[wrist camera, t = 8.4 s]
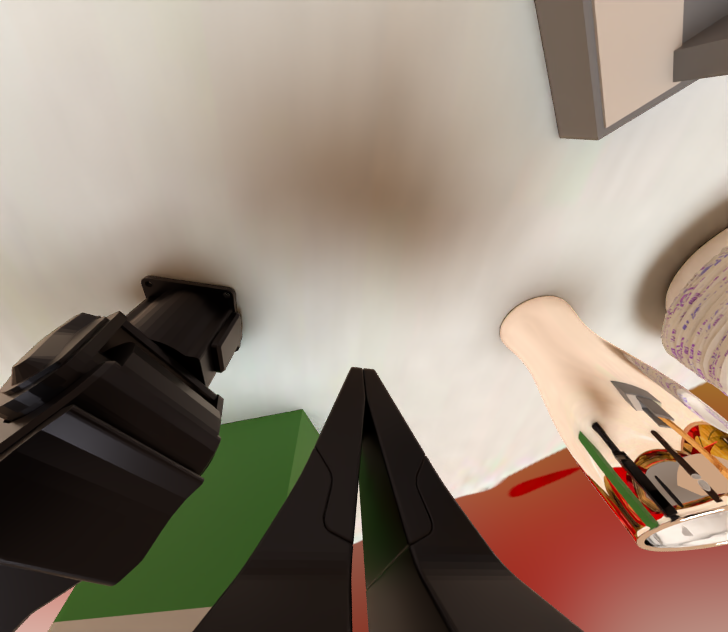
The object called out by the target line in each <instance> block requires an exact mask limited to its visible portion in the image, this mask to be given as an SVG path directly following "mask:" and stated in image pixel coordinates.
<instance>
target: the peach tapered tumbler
mask: <svg viewBox="0 0 728 632" xmlns="http://www.w3.org/2000/svg"><path fill="white" fill-rule="evenodd" d="M500 337H501V340H502V342H503V343H504V344H505V346H506V347H507V348H509V349H510V350H511V351H512V352H513V353H514V354H515V355H516V356H517V357H518V358H519V359H520V360H521V361H522V362H523V364H524V365H525V366H526V367H527V369H528V370H529V372H530V374H531V375H532V377H533V380H534V382H535V384H536V386H537V388H538V390H539V393H540V395H541V397H542V399H543V402H544V404H545V406H546V408H547V410H548V412H549V415H550V417H551V419H552V421H553V423H554V425H555V427H556V429H557V431H558V433H559V434H560V436H561V438H562V440H563V442H564V443H565V445H566V446H567V448H568V450H569V451H570V453H571V454H572V456H573V457H574V459H575V461H576V462H577V464H578V465H579V466H580V468H581V469H582V471H583V472H584V474H585V475H586V476H587V478H588V479H589V480H590V482H591V483H592V485H593V486H594V487H595V489H596V490H597V491H598V493H599V494H600V495H601V497H602V498H603V499H604V501H605V502H606V503H607V504H608V506H609V507H610V509H611V510H612V511H613V512H614V514H615V515H616V516H617V517H618V519H619V520H620V521H621V523H622V524H623V525H624V527H625V528H626V529H627V531H628V532H629V533H630V535H631V536H632V537H633V539H634V540H635V542H636V544H637V545H638V546H639V547H640V548H642V549H645V550H650V551H684V550H693V549H702V548H708V547H715V546H721V545H726V544H728V421H727V420H725V419H724V418H723V417H722V416H721V415H719V414H718V413H717V412H716V411H715V410H713V409H712V408H711V407H709V406H708V405H707V404H706V403H704V402H703V401H701V400H700V399H699V398H697V397H696V396H695V395H694V394H692V393H691V392H689V391H688V390H687V389H685V388H684V387H683V386H681V385H680V384H678V383H676V382H675V381H673V380H672V379H670V378H669V377H667V376H666V375H664V374H662V373H661V372H659V371H658V370H656V369H655V368H653V367H651V366H649V365H648V364H646V363H644V362H643V361H641V360H639V359H637V358H636V357H634V356H632V355H631V354H629V353H627V352H625V351H624V350H622V349H620V348H618V347H616V346H615V345H613V344H611V343H610V342H608V341H606V340H605V339H603V338H601V337H600V336H598V335H597V334H596V333H594V332H593V331H592V330H590V329H589V328H588V327H587V326H586V325H585V324H584V323H583V322H582V321H581V319H580V318H579V317H578V315H577V314H576V312H575V311H574V310H573V308H572V307H571V306H570V305H569V304H568V303H567V302H566V301H565V300H563V299H561V298H559V297H555V296H542V297H537V298H533V299H531V300H528V301H526V302H524V303H522V304H520V305H519V306H517V307H516V308H515V309H513V310H512V311H511V312H510V313H509V314H508V315H507V317H506V318H505V319H504V321H503V323H502V325H501V328H500Z"/></svg>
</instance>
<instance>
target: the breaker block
mask: <svg viewBox="0 0 728 632" xmlns="http://www.w3.org/2000/svg"><path fill="white" fill-rule="evenodd" d="M535 5H536V11H537V16H538V21H539V27H540V32H541V38H542V43H543V49H544V54H545V60H546V65H547V70H548V76H549V81H550V87H551V92H552V98H553V103H554V109H555V114H556V120H557V125H558V130H559V136H560V138H566V139H584V140H600V139H601V138H603V137H604V136H606V135H608V134H609V133H611V132H613V131H614V130H616V129H618V128H619V127H621V126H623V125H624V124H626V123H627V122H629V121H631V120H632V119H634V118H636V117H637V116H639V115H641V114H642V113H644V112H646V111H647V110H649V109H650V108H652V107H654V106H655V105H657V104H659V103H660V102H662V101H664V100H665V99H667V98H669V97H670V96H672V95H674V94H675V93H677V92H678V91H680V90H682V89H683V88H685V87H687V86H688V85H690V84H692V83H693V82H695V81H697V80H698V79H701V78H708V77H715V76H722V75H728V0H535Z"/></svg>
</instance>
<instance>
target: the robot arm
mask: <svg viewBox="0 0 728 632" xmlns="http://www.w3.org/2000/svg"><path fill="white" fill-rule="evenodd" d="M149 282H151V283H152V284H150V283H149ZM141 284H142V287H143V290H144V293H145V296H146V299H145V300H144V301H143V302H142V303H141V304H139V305H138V306H137V307H136V308H135V309H133V310H132V311H131V312H130V313H129V314H127V315H126V316H125V315H124V314H122V313H121V312H120V311H118V312H116V313H114V314H112V315H109V316H107V317H106V316H105V317H100V316H94V315H90V314H86V313H81V314H79V315H76V316H74V317H73V318H71V319H70V320H68V321H67V322H66V323H64V324H63V325H61V326H60V327H58V328H57V329H55V330H54V331H52V332H51V333H50V334H48V335H47V336H46V337H44V338H43V339H42V340H41V341H39V342H38V343H37V344H36V345H35V346H34V347H33V348H32V349H31V350H30V351H29V352H28V353H27V354H25V355H24V356H23V357H22V358H21V359H20V360H19V361H18V362H17V363H16V364H15V365H14V366H13V367H12V375H11V377H10V378H9V379H8V380H7V382H6V383H5V384H4V385H3V387H2V388H1V389H0V632H15V631H16V630H17V629H18V627H20V625H21V624H22V623H23V622H24V621H25V620H26V619H27V618H28V617H29V616H30V615H31V614H32V613H34V612H35V611H37V610H38V609H40V608H41V607H43V606H45V605H46V604H48V603H49V602H51V601H52V600H54V599H55V598H57V597H58V596H60V595H61V594H63V593H65V592H66V591H68V590H69V589H71V588H72V587H74V586H75V585H77V584H78V583H80V582H82V581H85V582H90V583H95V584H100V585H106V586H114V585H116V584H117V583H118V582H120V581H121V580H122V579H123V578H124V577H125V576H126V575H127V574H129V573H130V572H131V571H132V570H133V569H134V568H135V567H136V566H137V565H138V564H139V563H140V562H141V561H142V560H143V559H144V557H145V556H146V554H147V553H148V551H149V550H150V548H151V547H152V545H153V544H154V542H155V541H156V539H157V538H158V536H159V534H160V533H161V531H162V530H163V528H164V527H165V526H166V524H167V523H168V521H169V520H170V518H171V517H172V516H173V514H174V513H175V512H176V511H177V510H178V509H179V507H180V506H181V505H182V504H183V503H184V501H185V500H186V499H187V498H188V497H189V496H190V495H191V494H192V493H194V492H195V491H196V490H197V489H198V488H199V487H200V486H201V485H202V484H203V482H204V478H203V477H201V475H202V474H203V473H204V472H205V470H206V469H207V468H208V466H209V464H210V463H211V461H212V459H213V457H214V455H215V453H216V451H217V449H218V447H219V445H220V441H221V437H220V436H219V432H220V424H221V416H222V409H223V401H224V399H223V398H222V397H221V396H220V395H218V394H217V395H216V394H215V393H214V392H212V391H211V390H210V389H209V388H208V387H209V385H210V383H211V381H212V379H213V378H214V376H215V374H216V372H220V373H222V372H223V371H224V370H225V369H226V367H227V365H228V364H229V362H230V360H231V358H232V356H233V354H234V352H236V351H238V350H239V348H240V341H241V339H242V328H241V317H240V314H239V313H238V312H237V306H236V296H235V292H234V290H233V289H231V288H229V287H222V286H216V285H209V284H202V283H195V282H188V281H182V280H175V279H168V278H161V277H154V276H146V277H145V278H143V279H142V280H141ZM226 293H228V294H230V296H229V295H227V294H226ZM358 483H359V490H360V505H361V520H362V535H363V550H364V564H365V580H366V589H367V591H366V597H367V611H368V627H369V632H584V631H583V630H581V629H580V628H579V627H578V626H576V625H575V624H574V623H573V622H571V621H570V620H569V619H568V618H566V617H565V616H564V615H563V614H561V613H560V612H559V611H558V610H557V609H555V608H554V607H553V606H552V605H550V604H549V603H548V602H547V601H545V600H544V599H543V598H542V597H540V596H539V595H538V594H537V593H535V592H534V591H533V590H532V589H531V588H529V587H528V586H527V585H526V584H524V583H523V582H522V581H521V580H519V579H518V578H517V577H516V576H515V575H514V574H513V573H512V572H511V571H510V570H508V569H507V567H506V566H505V565H504V564H503V563H502V562H501V561H500V560H499V559H498V557H497V556H496V555H495V554H494V552H493V551H492V550H491V549H490V547H489V546H488V545H487V543H486V542H485V540H484V539H483V538H482V537H481V535H480V534H479V532H478V531H477V529H476V528H475V527H474V525H473V524H472V523H471V521H470V520H469V519H468V517H467V516H466V515H465V513H464V512H463V511H462V509H461V508H460V506H459V505H458V503H457V502H456V501H455V499H454V498H453V496H452V495H451V494H450V492H449V491H448V489H447V488H446V486H445V485H444V483H443V482H442V480H441V479H440V477H439V476H438V474H437V472H436V471H435V469H434V468H433V466H432V464H431V463H430V461H429V459H428V458H427V456H425V453H424V451H423V449H422V448H421V446H420V445H419V443H418V441H417V440H416V438H415V436H414V435H413V433H412V431H411V430H410V428H409V426H408V425H407V423H406V421H405V420H404V418H403V416H402V415H401V413H400V411H399V410H398V408H397V406H396V405H395V403H394V401H393V400H392V398H391V396H390V395H389V393H388V391H387V390H386V388H385V386H384V385H383V383H382V381H381V380H380V378H379V376H378V375H377V373H376V371H375V370H374V369H367V368H364V369H362V368H358V367H351V369H350V371H349V373H348V375H347V377H346V379H345V382H344V384H343V386H342V388H341V390H340V392H339V394H338V397H337V399H336V401H335V403H334V405H333V407H332V410H331V412H330V414H329V416H328V418H327V420H326V422H325V425H324V427H323V429H322V431H321V433H320V435H319V438H318V440H317V442H316V444H315V446H314V449H313V450H312V452H311V454H310V457H309V459H308V461H307V463H306V465H305V467H304V469H303V471H302V473H301V475H300V477H299V478H298V480H297V482H296V484H295V485H294V487H293V489H292V490H291V492H290V494H289V496H288V497H287V499H286V500H285V502H284V504H283V505H282V507H281V508H280V510H279V512H278V513H277V515H276V516H275V518H274V520H273V521H272V523H271V524H270V526H269V528H268V529H267V531H266V532H265V534H264V536H263V537H262V539H261V540H260V542H259V544H258V545H257V547H256V548H255V550H254V551H253V553H252V554H251V556H250V557H249V559H248V560H247V562H246V563H245V565H244V566H243V567H242V569H241V570H240V572H239V573H238V574H237V576H236V577H235V578H234V580H233V581H232V582H231V584H230V585H229V586H228V587H227V589H226V590H225V591H224V592H223V594H222V595H221V596H220V597H219V599H218V600H217V601H216V602H215V604H214V605H213V606H212V607H211V609H210V610H209V611H208V612H207V614H206V615H205V616H204V618H203V619H202V620H201V621H200V623H199V624H198V625H197V626H196V628H195V629H194V630H193V631H192V632H352V594H351V572H352V553H353V546H352V545H353V541H354V530H355V518H356V506H357V494H358Z"/></svg>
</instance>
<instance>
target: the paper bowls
mask: <svg viewBox="0 0 728 632" xmlns="http://www.w3.org/2000/svg"><path fill="white" fill-rule="evenodd" d="M666 311H667V313H666V314H665V319H664V323H663V326H662V336H661V338H662V344H663V346H664V348H665V350H666V352H667V353H668V354H669V355H671V356H672V357H674V358H675V359H677V360H678V361H679V362H680V363H682V364H683V365H684V366H685V367H687V368H688V369H690V370H692V371H693V372H695V373H696V374H697V375H698V376H699V377H701V378H702V379H704V380H705V381H707V382H709V383H711V384H713V385H714V386H715V387H717V388H718V389H719V390H721V391H722V392H723V393H724V394H725V395H727V396H728V228H727V229H725V230H724V231H722V232H721V233H719V234H718V235H716V236H715V237H713V238H712V239H711V240H709V241H708V242H707V243H705V244H704V245H703V246H702V247H701V248H699V249H698V250H697V251H696V252H695V253H694V254H693V255H692V256H691V257H690V258H689V259H688V260H687V261H686V262H685V263H684V265H683V266H682V267H681V268H680V270H679V271H678V272H677V274H676V275H675V277H674V279H673V280H672V282H671V284H670V286H669V289H668V292H667V295H666Z"/></svg>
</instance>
